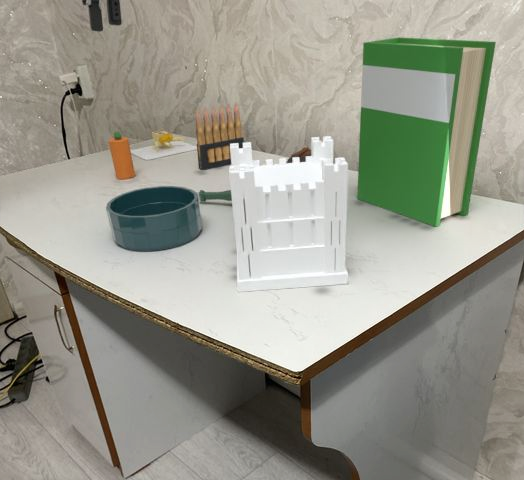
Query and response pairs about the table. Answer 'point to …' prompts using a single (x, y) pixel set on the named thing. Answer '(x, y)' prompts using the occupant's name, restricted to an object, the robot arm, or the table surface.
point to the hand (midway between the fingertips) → (105, 28)
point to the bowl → (154, 218)
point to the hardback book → (422, 124)
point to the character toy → (163, 146)
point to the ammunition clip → (217, 137)
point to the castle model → (289, 219)
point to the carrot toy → (121, 156)
